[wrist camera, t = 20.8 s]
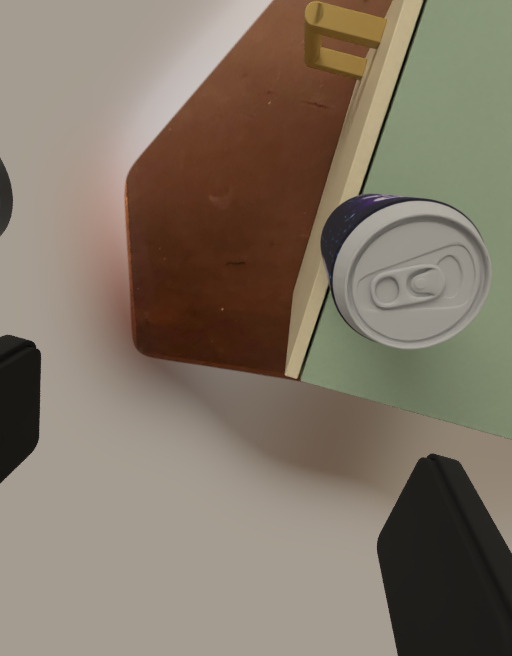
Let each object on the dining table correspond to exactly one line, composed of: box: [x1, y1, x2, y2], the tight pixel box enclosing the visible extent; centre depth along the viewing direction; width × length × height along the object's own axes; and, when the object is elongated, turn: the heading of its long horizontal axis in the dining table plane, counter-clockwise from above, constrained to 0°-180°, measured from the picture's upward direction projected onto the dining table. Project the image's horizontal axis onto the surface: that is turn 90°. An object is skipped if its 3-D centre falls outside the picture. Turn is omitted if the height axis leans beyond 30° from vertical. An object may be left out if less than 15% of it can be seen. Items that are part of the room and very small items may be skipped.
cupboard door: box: [285, 0, 424, 379], centre depth 35 cm, size 7×26×24 cm, turn 166°
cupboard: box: [301, 0, 512, 439], centre depth 34 cm, size 18×26×24 cm
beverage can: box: [320, 194, 492, 350], centre depth 18 cm, size 6×6×12 cm
